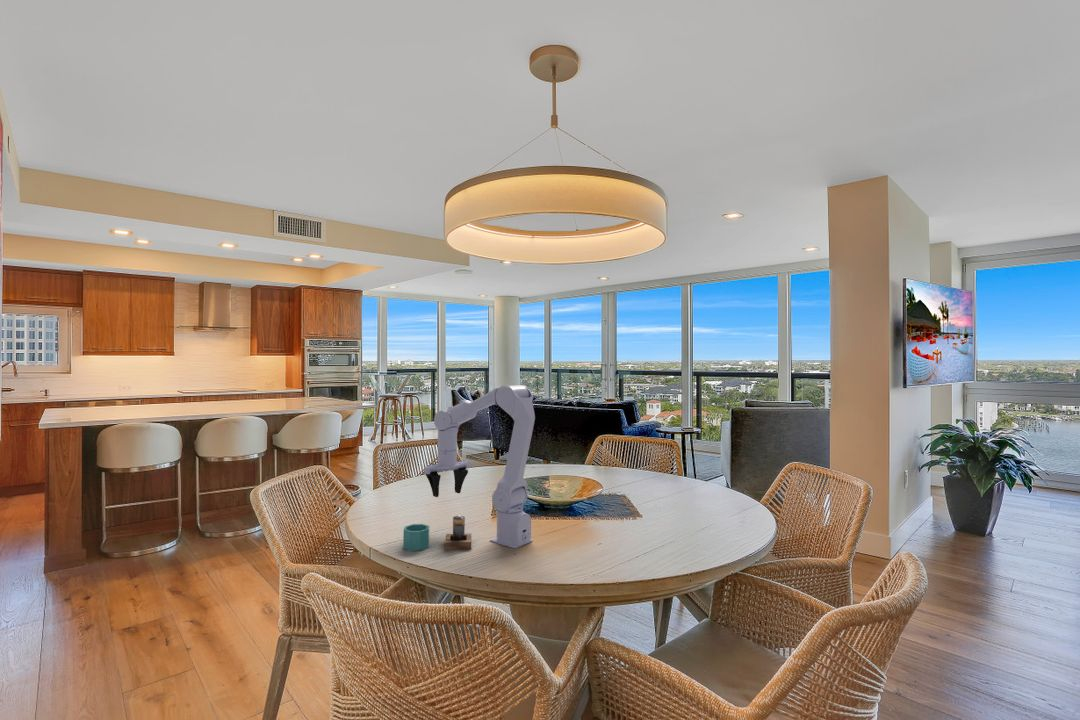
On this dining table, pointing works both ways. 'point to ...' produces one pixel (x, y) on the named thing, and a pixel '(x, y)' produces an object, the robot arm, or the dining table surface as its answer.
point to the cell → (458, 528)
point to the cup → (416, 537)
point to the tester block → (457, 542)
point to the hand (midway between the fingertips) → (446, 494)
